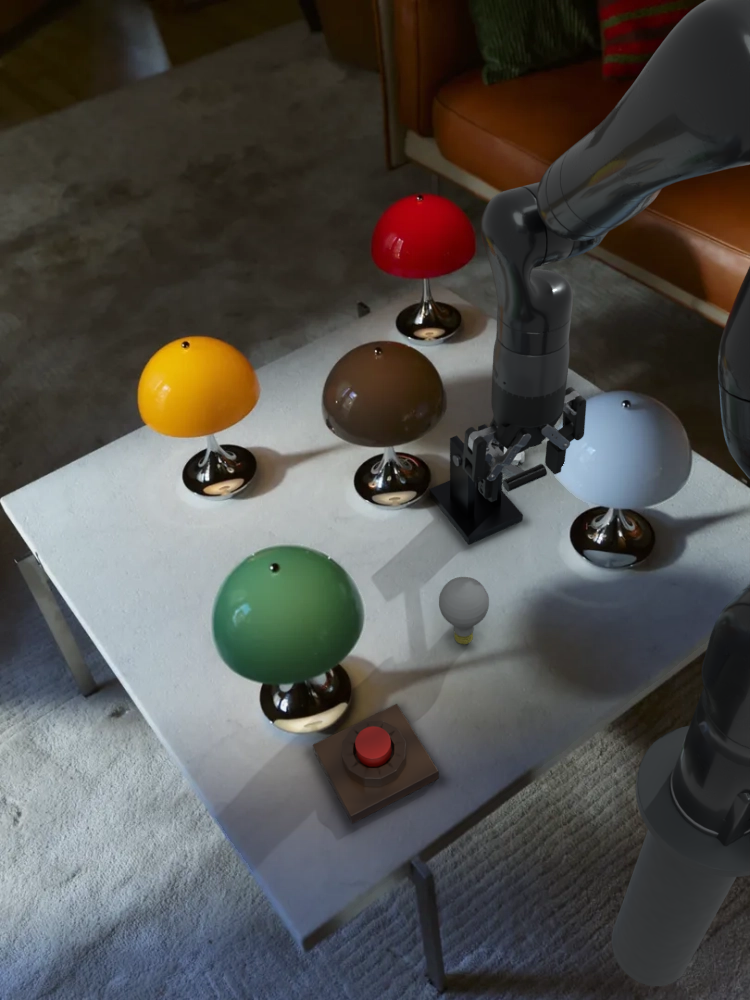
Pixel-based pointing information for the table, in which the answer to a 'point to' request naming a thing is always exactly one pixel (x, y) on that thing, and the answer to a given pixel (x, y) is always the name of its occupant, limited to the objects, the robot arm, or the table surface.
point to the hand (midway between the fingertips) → (521, 482)
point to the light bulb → (463, 606)
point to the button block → (382, 784)
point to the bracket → (472, 500)
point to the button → (373, 746)
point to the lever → (520, 475)
